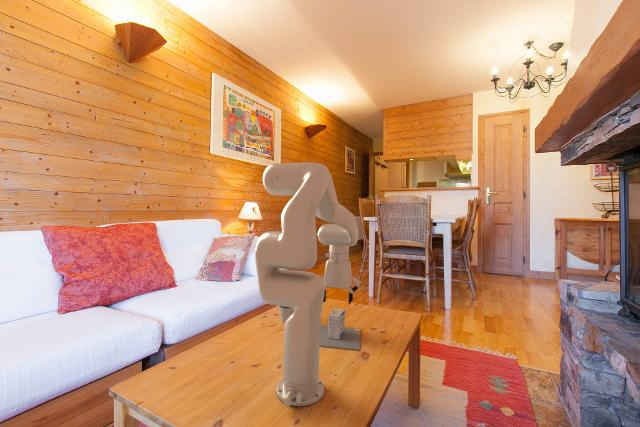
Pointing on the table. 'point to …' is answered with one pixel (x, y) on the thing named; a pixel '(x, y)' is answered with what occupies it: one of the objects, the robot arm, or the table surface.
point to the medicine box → (336, 324)
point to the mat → (347, 340)
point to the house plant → (285, 313)
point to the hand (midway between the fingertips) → (337, 302)
